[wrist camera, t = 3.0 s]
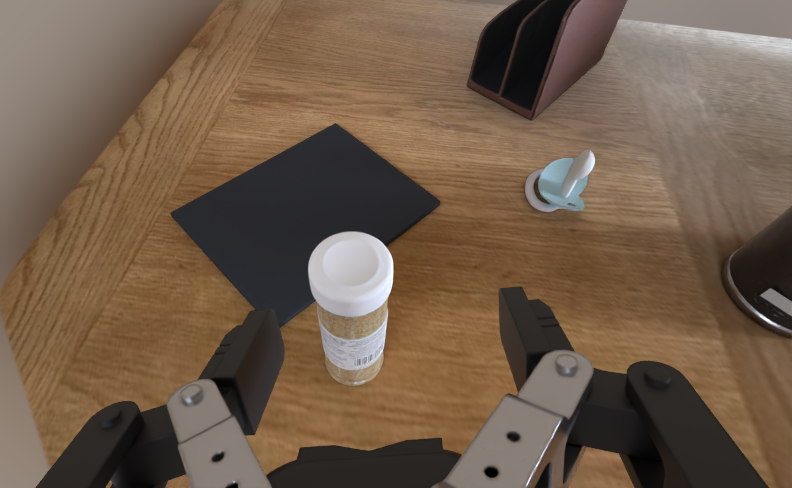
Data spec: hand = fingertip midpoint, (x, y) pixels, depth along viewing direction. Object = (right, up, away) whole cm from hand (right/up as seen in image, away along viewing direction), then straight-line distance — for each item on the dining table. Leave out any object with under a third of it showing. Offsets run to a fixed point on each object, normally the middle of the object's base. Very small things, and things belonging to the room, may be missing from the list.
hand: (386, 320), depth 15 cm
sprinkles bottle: (-3, -6, +18) cm, 20 cm away
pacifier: (+17, +8, +30) cm, 36 cm away
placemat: (-8, +6, +27) cm, 28 cm away
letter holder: (+19, +26, +44) cm, 55 cm away
